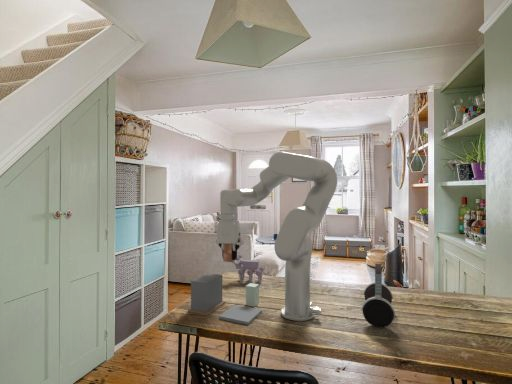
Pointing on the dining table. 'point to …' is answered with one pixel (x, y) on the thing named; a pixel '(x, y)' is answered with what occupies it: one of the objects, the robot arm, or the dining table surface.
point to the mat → (240, 314)
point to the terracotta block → (227, 253)
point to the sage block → (252, 294)
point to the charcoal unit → (206, 294)
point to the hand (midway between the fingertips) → (229, 258)
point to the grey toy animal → (249, 265)
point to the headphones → (378, 302)
